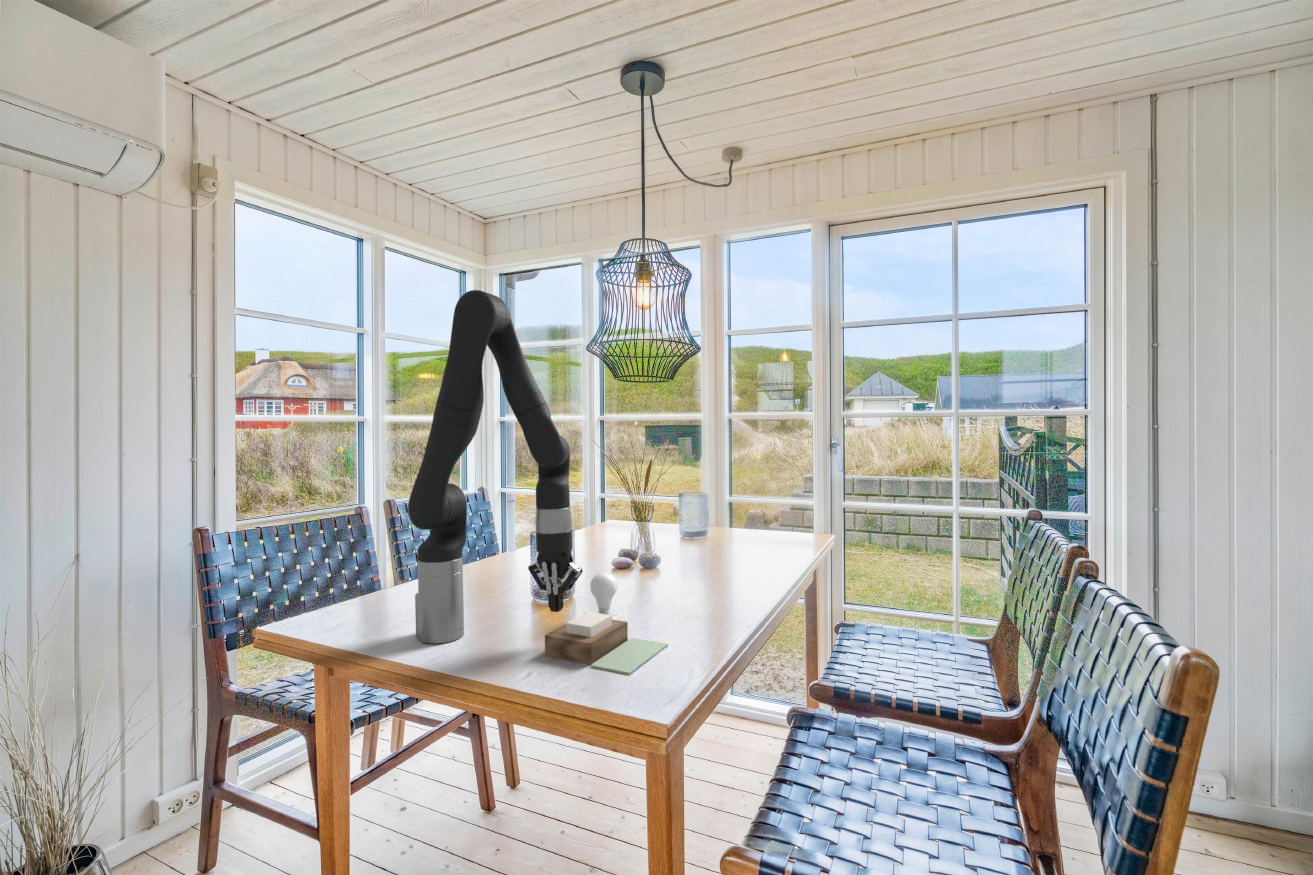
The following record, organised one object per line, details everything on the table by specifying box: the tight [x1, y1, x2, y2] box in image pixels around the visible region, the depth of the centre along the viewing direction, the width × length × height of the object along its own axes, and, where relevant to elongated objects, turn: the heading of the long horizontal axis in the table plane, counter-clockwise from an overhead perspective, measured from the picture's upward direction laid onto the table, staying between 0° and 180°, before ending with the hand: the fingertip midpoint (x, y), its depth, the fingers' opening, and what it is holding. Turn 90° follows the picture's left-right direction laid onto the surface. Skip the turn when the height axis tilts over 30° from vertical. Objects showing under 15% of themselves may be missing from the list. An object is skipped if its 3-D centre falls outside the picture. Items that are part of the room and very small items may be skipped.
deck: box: [544, 619, 629, 666], centre depth 124 cm, size 11×14×4 cm
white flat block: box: [565, 611, 613, 637], centre depth 123 cm, size 6×8×2 cm
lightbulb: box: [589, 571, 618, 615], centre depth 142 cm, size 6×6×11 cm
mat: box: [590, 637, 669, 676], centre depth 119 cm, size 8×16×1 cm, turn 153°
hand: (556, 610), depth 127 cm, fingers closed
